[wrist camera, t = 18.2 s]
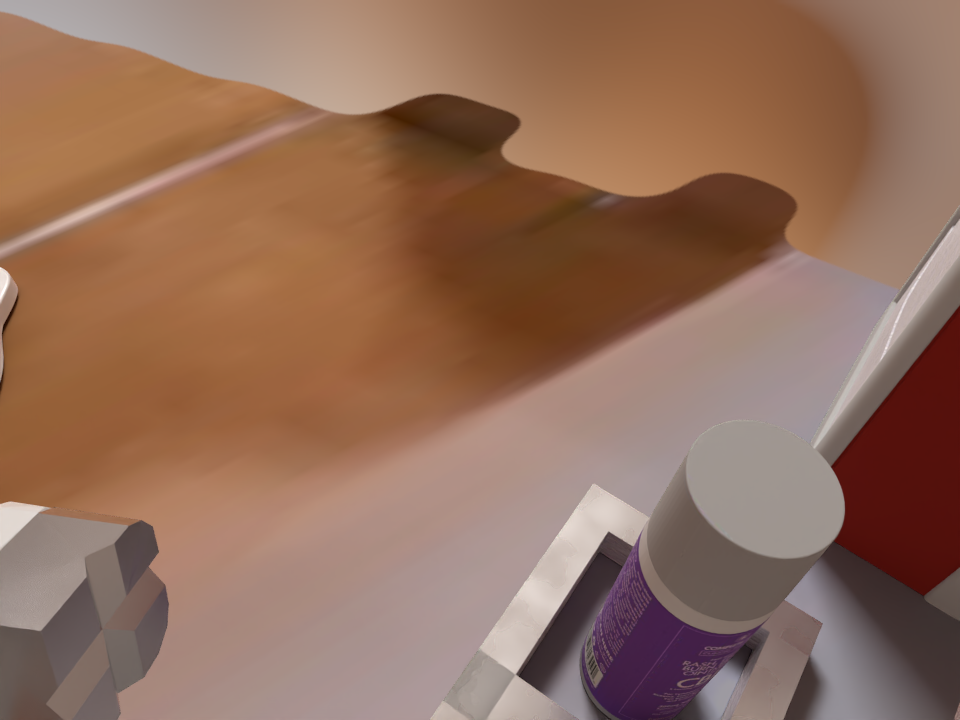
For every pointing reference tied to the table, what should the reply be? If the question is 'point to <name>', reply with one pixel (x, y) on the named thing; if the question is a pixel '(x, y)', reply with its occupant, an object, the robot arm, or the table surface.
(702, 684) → the container
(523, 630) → the rectangular frame with crossbar
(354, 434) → the table surface
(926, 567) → the red striped box
